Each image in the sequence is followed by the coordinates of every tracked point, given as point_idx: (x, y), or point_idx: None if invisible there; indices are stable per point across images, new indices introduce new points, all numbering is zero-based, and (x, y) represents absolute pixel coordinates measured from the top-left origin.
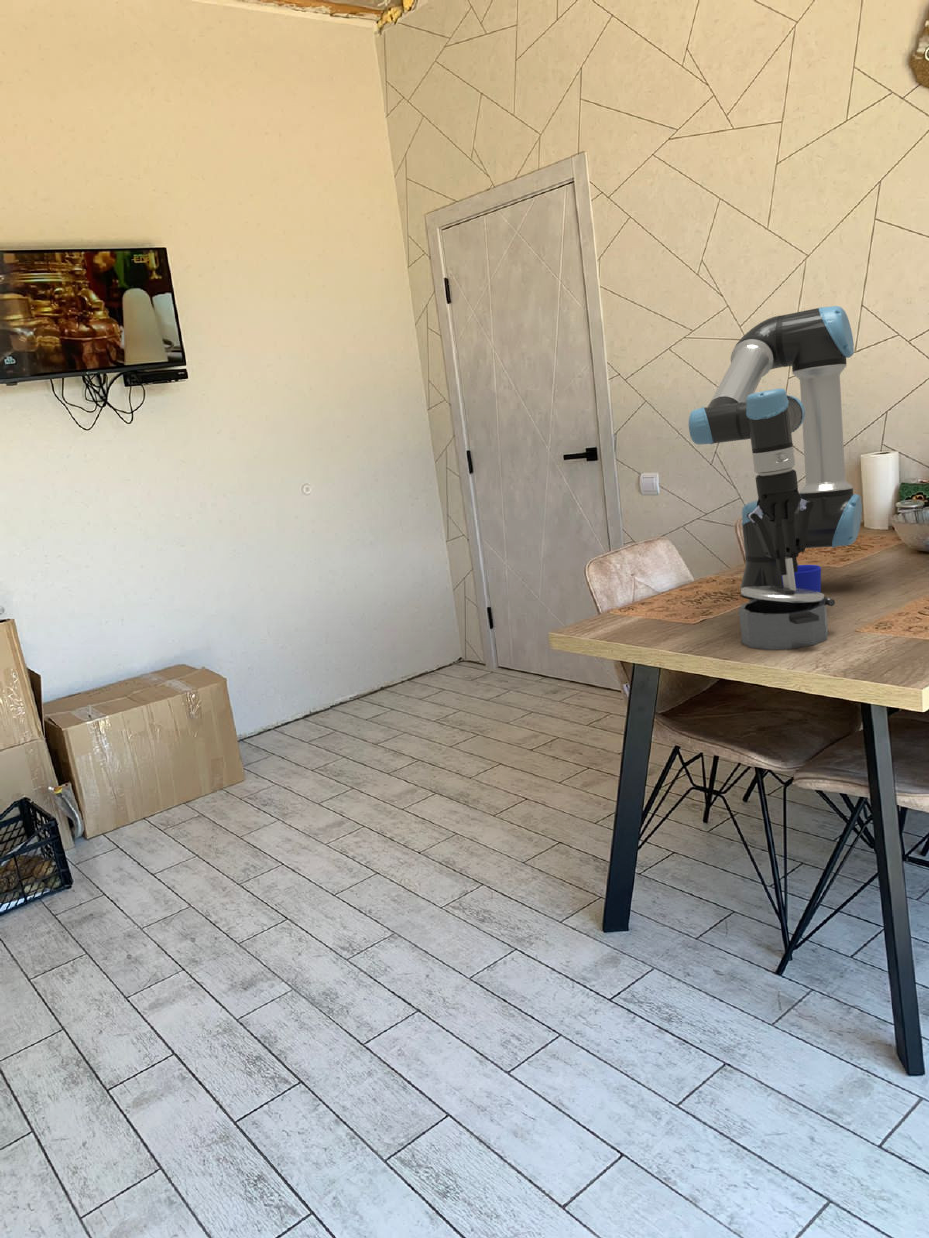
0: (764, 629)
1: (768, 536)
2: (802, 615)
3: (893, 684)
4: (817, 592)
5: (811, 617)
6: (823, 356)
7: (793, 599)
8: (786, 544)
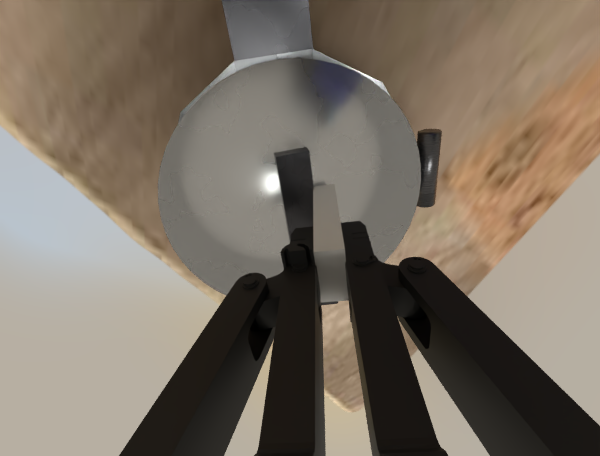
0: None
1: (228, 431)
2: None
3: (341, 401)
4: (412, 185)
5: (321, 304)
6: None
7: None
8: (353, 316)
